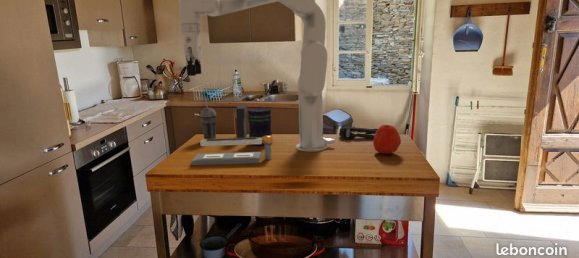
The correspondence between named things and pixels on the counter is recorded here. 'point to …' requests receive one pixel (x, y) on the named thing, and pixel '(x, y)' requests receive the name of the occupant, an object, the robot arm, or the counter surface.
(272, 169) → the counter surface
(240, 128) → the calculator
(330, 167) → the counter surface
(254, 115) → the blue oil drum
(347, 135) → the can opener
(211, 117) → the beverage cup
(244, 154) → the label board
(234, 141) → the swing arm
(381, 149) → the apple
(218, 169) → the counter surface
